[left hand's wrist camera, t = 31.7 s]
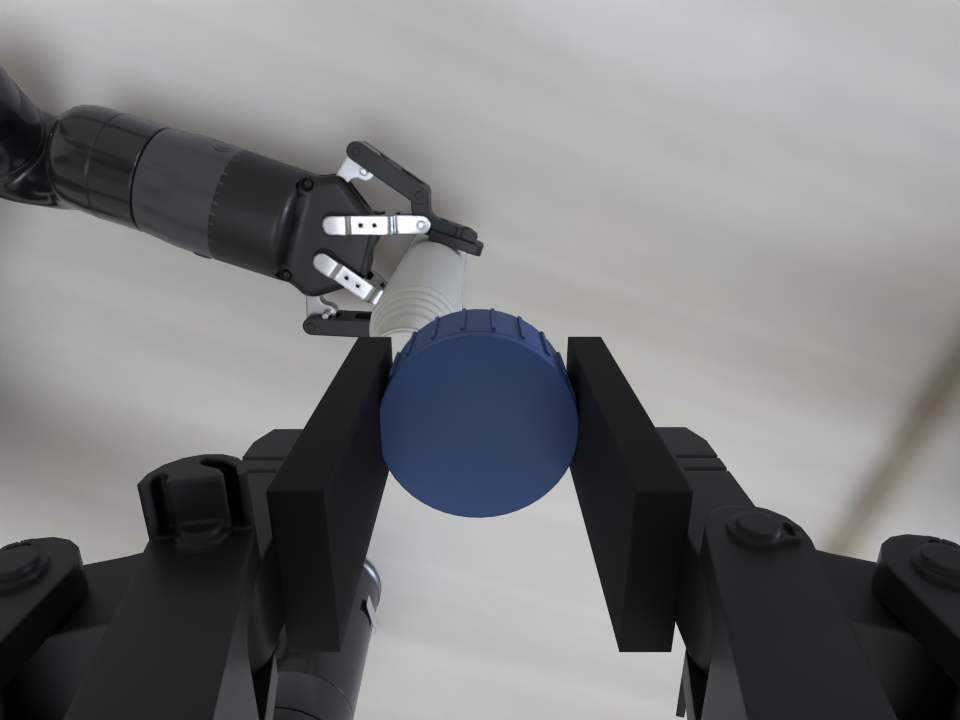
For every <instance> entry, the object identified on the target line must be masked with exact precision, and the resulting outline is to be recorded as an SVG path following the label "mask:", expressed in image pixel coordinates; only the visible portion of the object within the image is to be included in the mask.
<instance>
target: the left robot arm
mask: <svg viewBox="0 0 960 720" xmlns="http://www.w3.org/2000/svg"><path fill="white" fill-rule="evenodd" d="M392 364H393V357H392V338H391V337H358V339H357V341H356V342H355V344H354V346H353V347H352V349H351V351H350V352H349V354H348V356H347V357H346V359H345V361H344V362H343V364H342V366H341V367H340V369H339V371H338V372H337V374H336V376H335V377H334V379H333V381H332V382H331V384H330V386H329V387H328V389H327V391H326V392H325V394H324V396H323V397H322V399H321V401H320V402H319V404H318V406H317V407H316V409H315V411H314V412H313V414H312V416H311V417H310V419H309V421H308V422H307V424H306V426H305V427H304V429H274V430H272V431H271V432H269V433H268V434H266V435H265V436H263V437H261V438H260V439H258V440H257V441H255V442H254V443H253V444H252V445H251V447H250V448H249V449H248V451H247V452H246V454H245V455H244V456H243V460H240V459H239V458H236V457H232V456H228V455H224V454H204V455H198V456H192V457H187V458H182V459H179V460H176V461H174V462H171V463H168V464H165V465H163V466H161V467H159V468H157V469H156V470H154V471H152V472H150V473H149V474H147V475H146V476H145V477H144V478H143V479H142V480H141V481H140V482H139V483H138V485H137V487H138V491H139V496H140V500H141V504H142V509H143V513H144V518H145V522H146V527H147V531H148V536H149V542H148V544H147V546H146V548H145V550H144V552H143V553H140V554H136V555H132V556H128V557H123V558H118V559H113V560H108V561H103V562H98V563H92V564H87V565H83V562H82V558H81V554H80V551H79V547H78V546H77V545H75V544H74V543H73V542H72V541H70V540H67V539H62V538H56V537H49V538H39V539H29V540H24V541H21V542H19V543H18V542H16V543H12V544H9V545H6V546H4V547H2V548H1V549H0V720H273V714H274V705H275V697H276V689H277V680H278V672H277V665H276V658H275V652H274V648H275V646H276V643H277V641H278V638H279V636H280V633H281V631H282V628H283V626H284V624H285V631H286V638H287V645H288V652H340V650H341V647H342V643H343V639H344V636H345V632H346V628H347V624H348V621H349V617H350V613H351V610H352V606H353V602H354V599H355V595H356V591H357V587H358V584H359V580H360V576H361V573H362V569H363V565H364V562H365V558H366V554H367V550H368V547H369V543H370V539H371V536H372V532H373V528H374V525H375V521H376V517H377V513H378V510H379V506H380V502H381V499H382V495H383V491H384V488H385V484H386V480H387V476H388V473H389V469H388V467H387V465H386V463H385V461H384V459H383V455H382V441H381V425H380V403H381V399H382V396H383V394H384V391H385V388H386V386H387V383H388V380H389V378H387V377H388V374H389V372H390V369H391V367H392ZM566 371H567V374H568V376H569V381H570V383H571V386H572V389H573V392H574V394H575V397H576V400H577V410H578V415H579V433H578V443H577V447H576V451H575V454H574V456H573V459H572V461H571V463H570V465H569V467H570V470H571V474H572V478H573V482H574V485H575V489H576V493H577V496H578V500H579V504H580V507H581V511H582V515H583V519H584V522H585V526H586V530H587V533H588V537H589V541H590V545H591V548H592V552H593V556H594V559H595V563H596V567H597V570H598V574H599V578H600V582H601V585H602V589H603V593H604V596H605V600H606V604H607V607H608V611H609V615H610V619H611V622H612V626H613V630H614V633H615V637H616V641H617V644H618V648H619V652H671V649H672V642H673V635H674V628H675V621H676V624H677V626H678V629H679V631H680V634H681V636H682V639H683V641H684V643H685V646H686V652H685V658H684V665H683V672H682V678H681V685H680V691H679V698H678V705H677V712H676V716H678V717H684V715H685V710H686V712H687V720H960V546H959V545H958V544H956V543H954V542H951V541H948V540H945V539H942V540H941V539H940V538H936V537H931V536H920V535H909V534H905V535H900V536H894V537H890V538H889V539H888V540H886V541H885V542H884V543H883V544H882V545H881V549H880V552H879V556H878V560H877V563H876V562H871V561H866V560H861V559H856V558H851V557H846V556H841V555H836V554H831V553H827V552H823V551H819V550H816V549H815V547H814V545H813V543H812V541H811V539H810V537H809V536H808V535H807V534H806V533H805V531H804V530H803V529H802V528H801V527H800V526H799V525H797V524H796V523H794V522H793V521H791V520H790V519H788V518H787V517H785V516H783V515H780V514H778V513H775V512H773V511H770V510H768V509H764V508H759V507H755V505H754V504H753V503H752V501H751V500H750V499H749V497H748V496H747V495H746V493H745V492H744V491H743V489H742V488H741V487H740V485H739V484H738V483H737V481H736V480H735V478H734V477H733V476H732V474H731V473H730V472H729V471H727V470H726V469H727V468H726V466H725V465H724V464H723V462H722V461H721V460H720V458H717V454H716V453H715V452H714V450H713V449H712V448H711V446H710V445H709V443H708V442H707V441H706V440H705V439H703V438H702V437H700V436H699V435H697V434H695V433H694V432H692V431H691V430H689V429H687V428H686V427H655V426H654V425H653V423H652V421H651V420H650V418H649V416H648V415H647V413H646V411H645V410H644V408H643V406H642V405H641V403H640V401H639V400H638V398H637V396H636V395H635V393H634V391H633V390H632V388H631V386H630V385H629V383H628V381H627V380H626V378H625V376H624V375H623V373H622V371H621V370H620V368H619V366H618V365H617V363H616V361H615V360H614V358H613V356H612V355H611V353H610V351H609V350H608V348H607V346H606V345H605V343H604V341H603V340H602V338H601V337H568V350H567V369H566Z"/></svg>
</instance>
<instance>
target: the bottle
mask: <svg viewBox="0 0 960 720" xmlns="http://www.w3.org/2000/svg"><path fill="white" fill-rule="evenodd" d="M428 237H429V236H428V235H425V234H417V235H416V236H415V237H414V239H413V240H412V242H411V244H410V246H409V247H408V249H407V251H406V252H405V254H404V256H403V258H402V259H401V261H400V263H399V265H398V266H397V268H396V270H395V272H394V273H393V275H392V277H391V279H390V280H389V282H388V284H387V286H386V287H385V289H384V291H383V293H382V294H381V296H380V298H379V300H378V301H377V303H376V305H375V307H374V309H373V311H372V314H371V319H370V327H369V332H370V337H391V338H392V357H393V361H394V359H395V356H396V354H397V352H401V350H402V349H403V347H404V346H405V344H406V343H407V342H408V341H409V340H410V338H411V336H412V333H413V332H414V331H416V332H418V331H419V330H420V329H421V328H423V327H424V326H425V325H427V324H428V323H430V322H432V321H434V320H435V317H437V316H439V317H442V316H445V315H447V314H450V313H454V312H458V311H462V308H463V292H464V277H465V261H466V252H463V251H460V250H457V249H454V248H451V247H448V246H445V245H443V244H440V243H437V242H434V241H431V240H428Z"/></svg>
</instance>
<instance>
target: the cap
mask: <svg viewBox="0 0 960 720" xmlns="http://www.w3.org/2000/svg"><path fill="white" fill-rule="evenodd" d="M387 378H389V380H388V383H387V386H386V388H385V391H384V394H383V396H382V399H381V403H380V425H381V441H382V455H383V459H384V461H385V463H386V465H387V467H388V469H389V470H390V472H391V473H392V475H393V476H394V478H395V479H396V480H397V481H398V482H399V483H400V485H401V486H402V487H403V488H404V489H405V490H406V491H408V492H409V493H410V494H411V495H412V496H414V497H415V498H416V499H418V500H419V501H421V502H422V503H424V504H426V505H428V506H430V507H432V508H434V509H437V510H439V511H442V512H445V513H449V514H453V515H456V516H463V517H478V518H483V517H494V516H499V515H504V514H508V513H511V512H514V511H517V510H520V509H522V508H524V507H526V506H529V505H530V504H532V503H534V502H535V501H537V500H539V499H540V498H541V497H543V496H544V495H545V494H546V493H548V492H549V491H550V490H551V489H552V488H553V487H554V486H555V485H556V484H557V483H558V482H559V480H560V479H561V478H562V476H563V475H564V474H565V472H566V470H567V469H568V467H569V465H570V463H571V461H572V459H573V456H574V454H575V451H576V447H577V443H578V433H579V415H578V410H577V400H576V397H575V394H574V392H573V389H572V386H571V383H570V381H569V376H568V374H567V371H566V368H565V366H564V363H563V360H562V357H561V355H560V353H559V352H557V353H556V351H555V349H554V348H553V346H552V345H551V344H550V342H549V341H548V340H547V339H546V338H545V335H544V333H543V332H542V331H541V332H539V331H538V330H537V329H535V328H534V327H533V326H531V325H530V324H528V323H526V322H525V321H523V320H522V318H521V317H519V316H518V317H515V316H512V315H510V314H506V313H503V312H499V311H495V310H494V309H492V308H491V310H485V309H472V310H466V308H464V309H462V311H458V312H454V313H450V314H447V315H445V316H442V317H439V316H437V317H435V320H434V321H432V322H430V323H428V324H427V325H425V326H424V327H423V328H421V329H420V330H419V331H418V332H416V331H414V332H413V333H412V336H411V338H410V340H409V341H408V342H407V343H406V344H405V346H404V347H403V349H402V350H401V352H397V354H396V356H395V359H394V361H393V364H392V367H391V369H390V372H389V374H388V377H387Z"/></svg>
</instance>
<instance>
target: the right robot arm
mask: <svg viewBox="0 0 960 720" xmlns="http://www.w3.org/2000/svg"><path fill="white" fill-rule="evenodd" d="M375 176H376V177H377V178H378V179H380V180H381V181H383V182H384V183H386V184H387V185H389V186H390V187H392V188H393V189H395V190H396V191H397V192H399V193H400V194H402V195H403V196H405V197H406V198H408V199H409V200H411V205H412V211H397V210H372V209H371V208H370V206H369V205H368V204H367V202H366V201H365V200H364V198H363V197H362V196H361V194H360V193H359V192H358V190H357V189H356V188H355V186H354V185H353V184H352V182H351V180H352V179H354V178H359V179H361V180H364V181H367V180H370V179H372V178H374V177H375ZM0 198H2V199H5V200H9V201H13V202H18V203H24V204H30V205H36V206H43V207H50V208H56V209H66V210H79V211H83V212H85V213H88V214H90V215H93V216H95V217H98V218H101V219H104V220H107V221H110V222H113V223H117V224H120V225H123V226H126V227H129V228H132V229H135V230H138V231H142V232H145V233H147V234H150V235H153V236H155V237H157V238H159V239H161V240H163V241H165V242H167V243H170V244H172V245H174V246H177V247H179V248H182V249H185V250H188V251H191V252H193V253H195V254H196V255H198V256H201V257H205V258H209V259H211V258H213V259H216V260H219V261H222V262H225V263H229V264H232V265H235V266H238V267H241V268H244V269H247V270H251V271H254V272H257V273H260V274H263V275H266V276H269V277H272V278H275V279H279V280H282V281H286V282H289V283H291V284H292V285H294V286H295V287H296V288H297V289H298V290H299V291H300V292H301V293H303V294H304V295H306V304H307V319H306V320H305V321H304V323H303V329H304V331H305V332H306V333H308V334H310V335H325V336H345V337H370V332H369V327H370V319H371V314H372V312H366V311H346V310H339V309H338V306H337V305H336V304H335V303H333V302H329V301H327V300H325V299H324V297H323V294H326V293H330V292H333V291H336V290H339V289H343V288H346V289H348V290H349V291H351V292H352V293H354V294H355V295H356V296H358V297H359V298H361V299H362V300H364V301H366V302H370V303H372V304H373V305H376V303H377V301H378V300H379V298H380V296H381V294H382V293H383V291H384V289H385V287H386V286H387V284H388V283H387V282H386V281H385V280H384V279H383V277H382V276H380V275H379V274H378V273H376V272H375V271H373V270H372V269H371V266H372V263H373V249H374V247H375V245H376V244H377V242H378V240H379V238H380V235H394V234H425V235H428V236H429V237H428V240H431V241H434V242H437V243H440V244H443V245H445V246H448V247H451V248H454V249H457V250H460V251H463V252H466V253H469V254H472V255H475V256H480V255H481V252H482V249H483V243H482V242H480V241H478V240H476V239H477V233H476V232H475V231H474V230H473V229H472V228H469V227H466V226H463V225H460V224H457V223H454V222H451V221H448V220H445V219H443V218H440V217H437V216H436V215H435V214H434V213H433V211H432V208H431V189H430V187H429V186H428V185H427V184H426V183H424V182H423V181H421V180H420V179H418V178H417V177H416V176H414V175H413V174H411V173H410V172H408V171H407V170H406V169H404V168H403V167H401V166H400V165H398V164H397V163H395V162H394V161H393V160H391V159H390V158H388V157H387V156H385V155H384V154H383V153H381V152H380V151H378V150H377V149H375V148H374V147H373V146H371V145H370V144H368V143H367V142H365V141H355V142H351V143H350V144H349V145H348V146H347V157H346V158H345V160H344V162H343V164H342V165H341V167H340V169H339V170H338V172H337V174H330V175H317V174H313V173H311V172H308V171H305V170H302V169H299V168H296V167H293V166H290V165H287V164H284V163H281V162H279V161H276V160H273V159H270V158H267V157H264V156H261V155H258V154H255V153H252V152H249V151H247V150H244V149H241V148H238V147H235V146H232V145H229V144H226V143H223V142H220V141H217V140H215V139H211V138H208V137H205V136H200V135H196V134H191V133H185V132H181V131H177V130H174V129H170V128H168V127H165V126H162V125H159V124H156V123H153V122H150V121H147V120H144V119H142V118H139V117H136V116H133V115H129V114H127V113H124V112H120V111H117V110H114V109H110V108H106V107H102V106H97V105H80V106H76V107H73V108H71V109H69V110H67V111H66V112H64V113H63V114H62V115H61V116H60V117H56V116H53V115H51V114H49V113H47V112H45V111H43V110H41V109H39V108H37V107H35V106H34V105H33V103H32V102H31V101H30V100H29V99H28V98H27V96H26V95H25V94H24V93H23V92H22V91H21V89H20V88H19V87H18V86H17V85H16V83H15V82H14V81H13V80H12V79H11V77H10V76H9V75H8V74H7V73H6V71H5V70H4V69H3V68H2V67H1V66H0ZM357 284H359V286H358V285H357ZM380 594H381V584H380V580H379V577H378V575H377V573H376V571H375V570H374V568H373V567H372V566H371V565H370V564H369V563H368V562H367V561H366V560H365V562H364V565H363V569H362V573H361V576H360V580H359V584H358V587H357V591H356V595H355V599H354V602H353V606H352V610H351V613H350V617H349V621H348V624H347V628H346V632H345V636H344V639H343V643H342V647H341V650H340V652H288V645H287V638H286V631H285V624H284V626H283V628H282V631H281V633H280V636H279V638H278V641H277V643H276V646H275V648H274V652H275V658H276V665H277V672H278V680H277V689H276V697H275V705H274V714H273V720H353V718H354V713H355V709H356V704H357V699H358V694H359V689H360V685H361V680H362V675H363V670H364V666H365V661H366V656H367V651H368V646H369V642H370V637H371V632H372V627H374V630H375V632H376V627H377V622H378V620H377V617H376V609H377V606H378V603H379V599H380Z"/></svg>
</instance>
